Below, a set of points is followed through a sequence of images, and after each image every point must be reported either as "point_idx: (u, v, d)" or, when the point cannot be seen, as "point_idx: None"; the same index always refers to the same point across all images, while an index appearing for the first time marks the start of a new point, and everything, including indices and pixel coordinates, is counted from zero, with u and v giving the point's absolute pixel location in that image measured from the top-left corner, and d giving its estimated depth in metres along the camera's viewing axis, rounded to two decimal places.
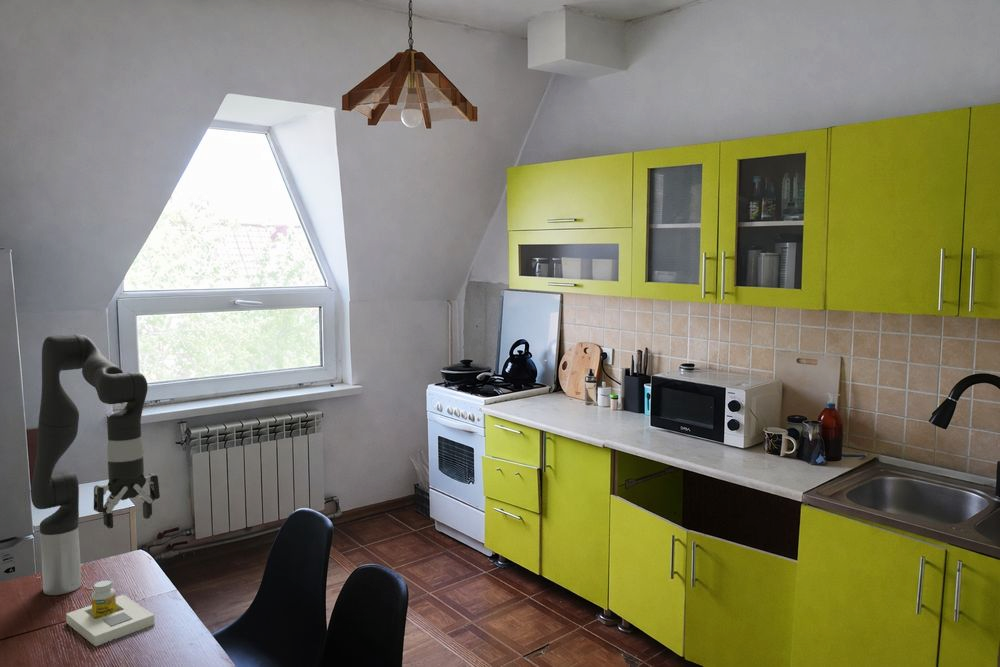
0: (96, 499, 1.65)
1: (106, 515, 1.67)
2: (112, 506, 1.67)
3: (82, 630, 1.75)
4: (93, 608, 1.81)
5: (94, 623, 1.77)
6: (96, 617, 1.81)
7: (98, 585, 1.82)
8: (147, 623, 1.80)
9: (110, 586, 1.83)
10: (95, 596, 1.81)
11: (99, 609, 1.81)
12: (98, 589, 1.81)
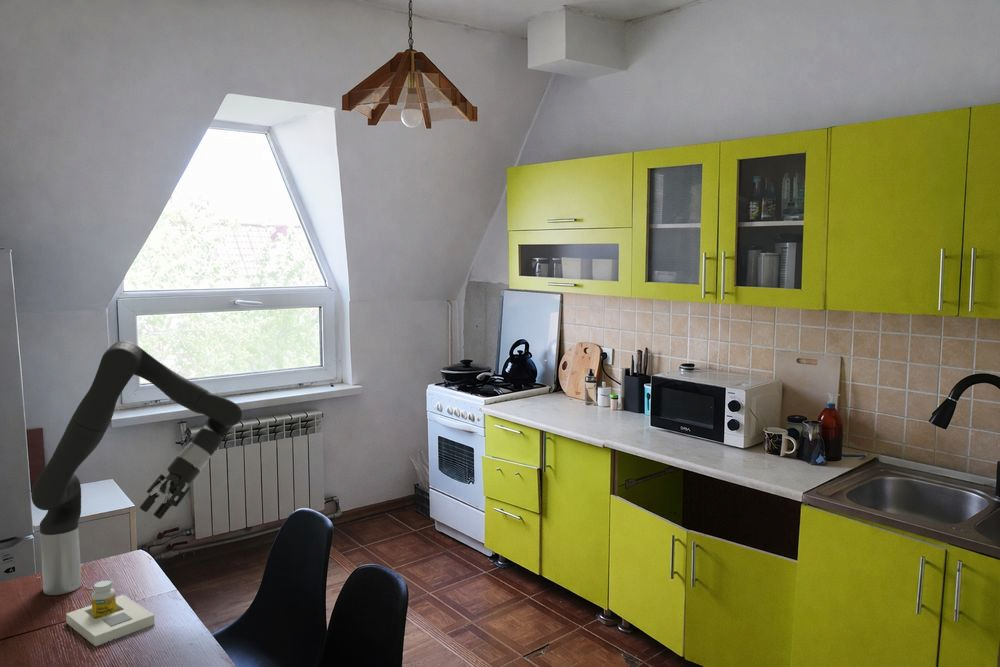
0: (181, 495, 1.91)
1: None
2: None
3: (82, 630, 1.75)
4: (93, 608, 1.81)
5: (94, 623, 1.77)
6: (96, 617, 1.81)
7: (98, 585, 1.82)
8: (147, 623, 1.80)
9: (110, 586, 1.83)
10: (95, 596, 1.81)
11: (99, 609, 1.81)
12: (98, 589, 1.81)
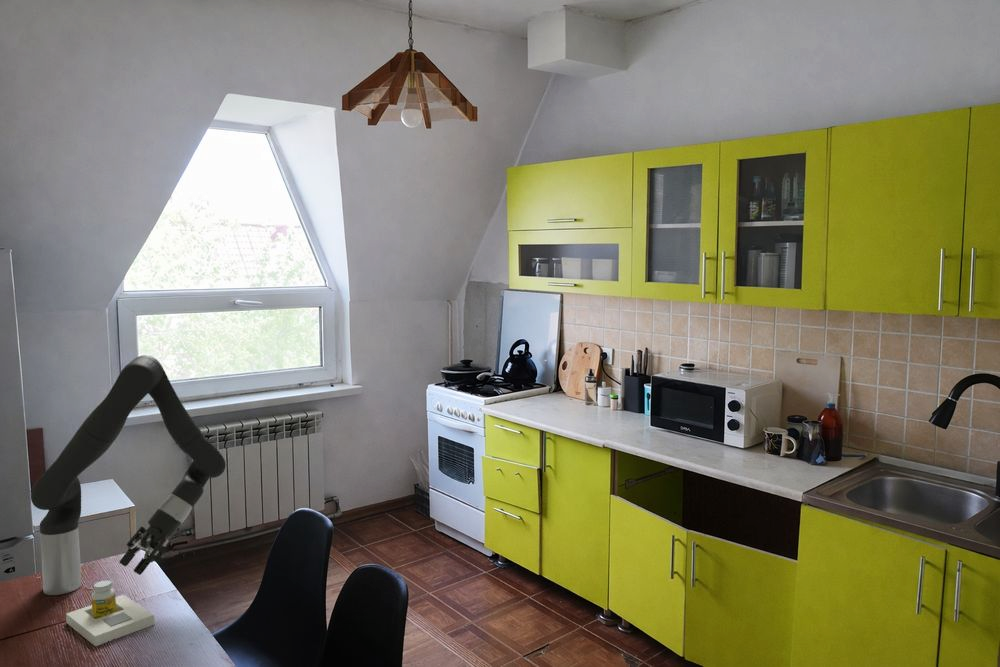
0: (162, 550, 1.88)
1: None
2: None
3: (82, 630, 1.75)
4: (93, 608, 1.81)
5: (94, 623, 1.77)
6: (96, 617, 1.81)
7: (98, 585, 1.82)
8: (147, 623, 1.80)
9: (110, 586, 1.83)
10: (95, 596, 1.81)
11: (99, 609, 1.81)
12: (98, 589, 1.81)
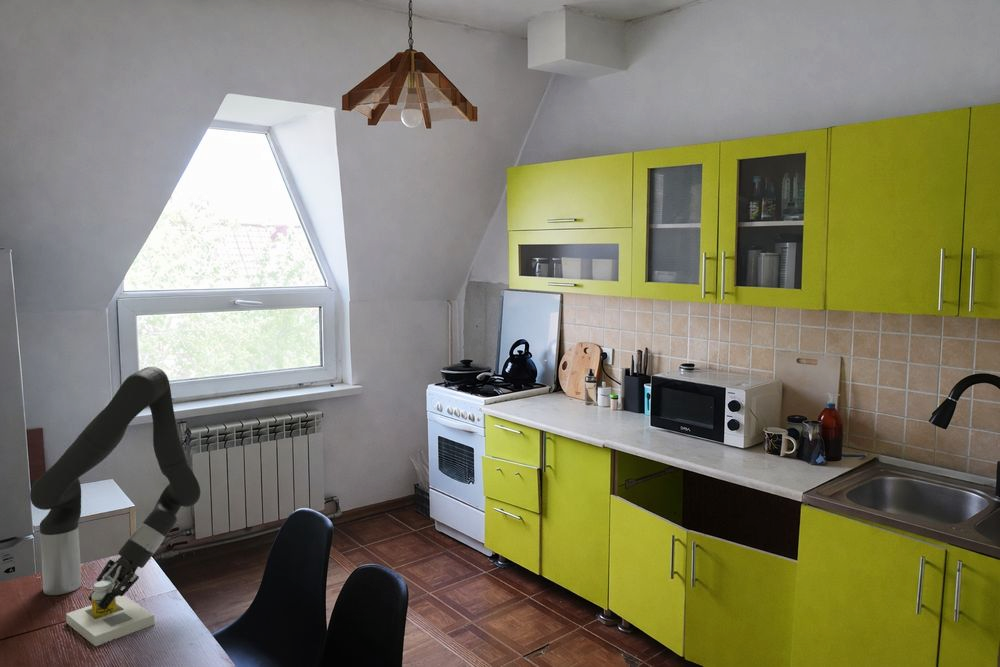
0: (128, 585, 1.82)
1: None
2: None
3: (82, 630, 1.75)
4: (93, 608, 1.81)
5: (94, 623, 1.77)
6: (96, 617, 1.81)
7: (98, 585, 1.82)
8: (147, 623, 1.80)
9: (110, 586, 1.83)
10: (95, 596, 1.81)
11: (99, 609, 1.81)
12: (98, 589, 1.81)
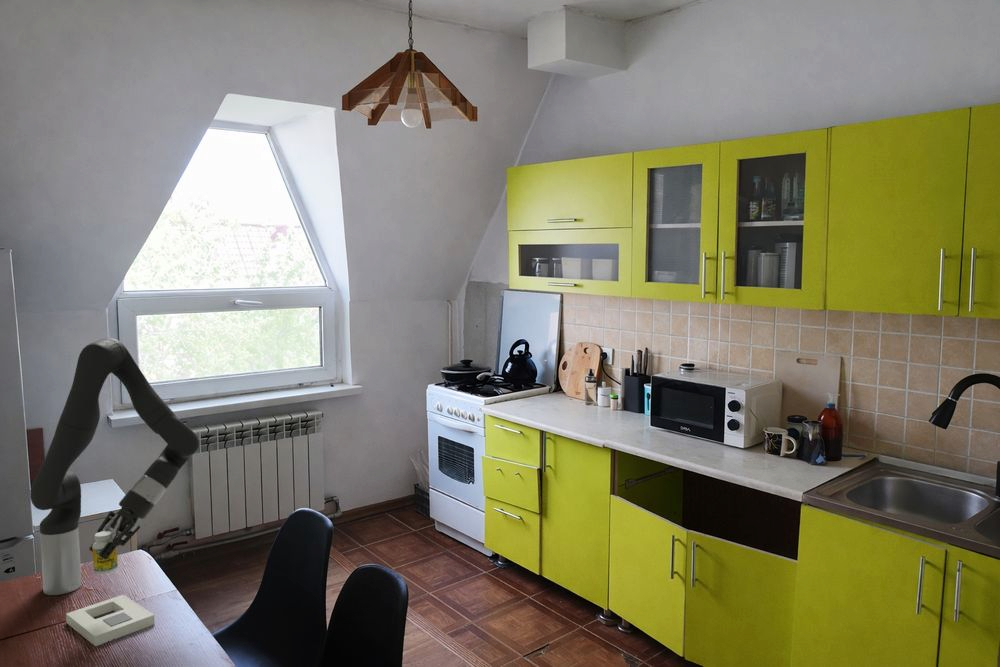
0: (129, 535, 1.80)
1: None
2: None
3: (82, 630, 1.75)
4: (94, 558, 1.80)
5: (94, 623, 1.77)
6: (97, 567, 1.80)
7: (99, 535, 1.80)
8: (147, 623, 1.80)
9: (111, 536, 1.81)
10: (96, 546, 1.79)
11: (100, 559, 1.79)
12: (99, 538, 1.79)
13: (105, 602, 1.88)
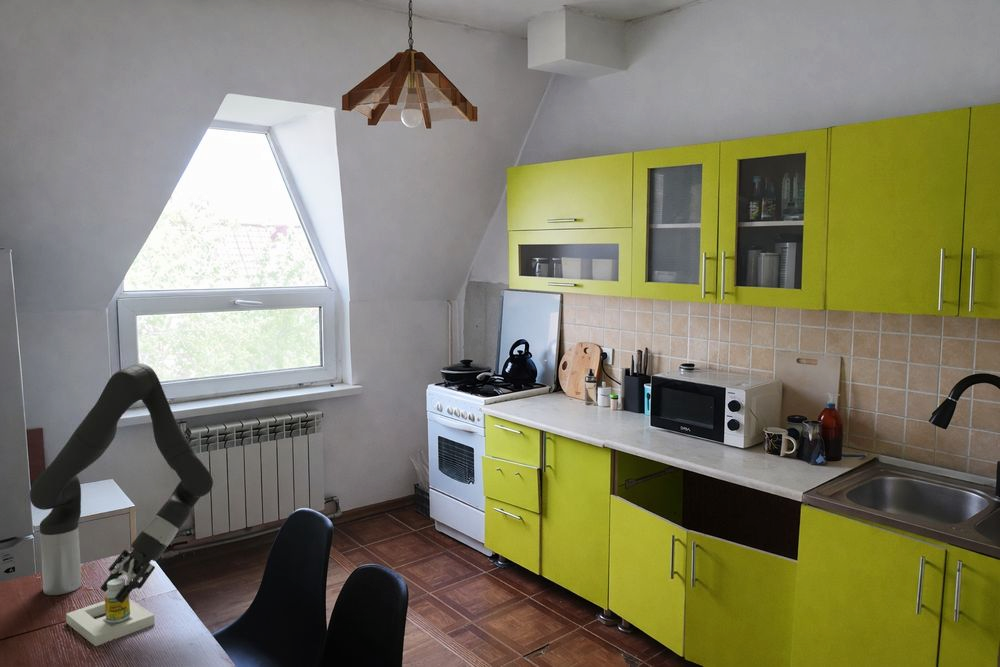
0: (145, 576, 1.77)
1: None
2: None
3: (82, 630, 1.75)
4: (106, 606, 1.76)
5: (94, 623, 1.77)
6: (109, 616, 1.76)
7: (111, 583, 1.77)
8: (147, 623, 1.80)
9: (124, 584, 1.78)
10: (108, 594, 1.76)
11: (112, 608, 1.76)
12: (112, 587, 1.76)
13: None
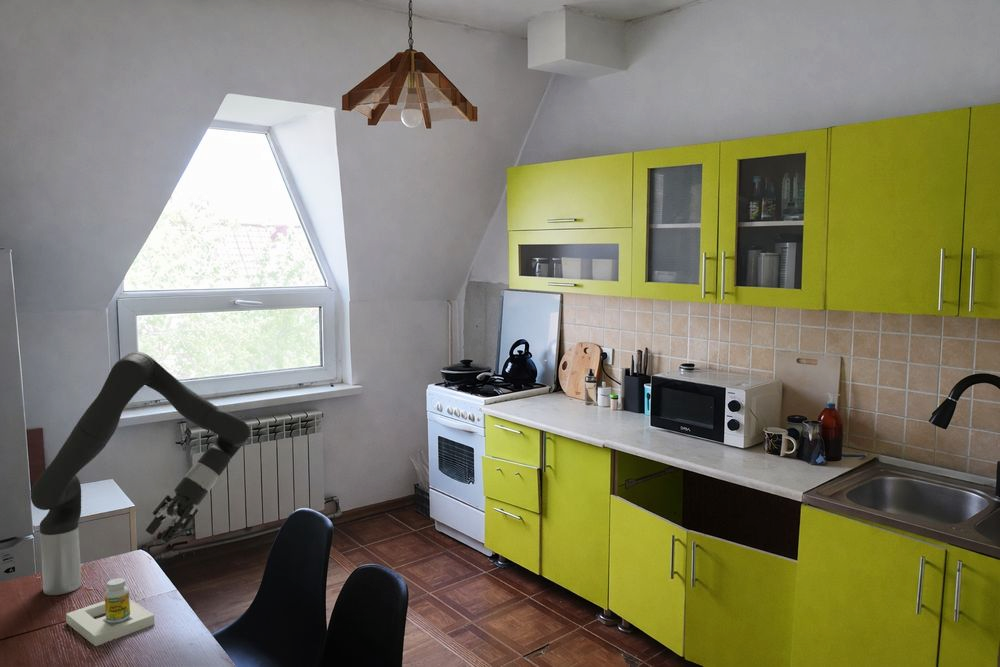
0: (189, 517, 1.84)
1: None
2: None
3: (82, 630, 1.75)
4: (106, 606, 1.76)
5: (94, 623, 1.77)
6: (109, 616, 1.76)
7: (111, 583, 1.77)
8: (147, 623, 1.80)
9: (124, 584, 1.78)
10: (108, 594, 1.76)
11: (112, 608, 1.76)
12: (112, 587, 1.76)
13: None
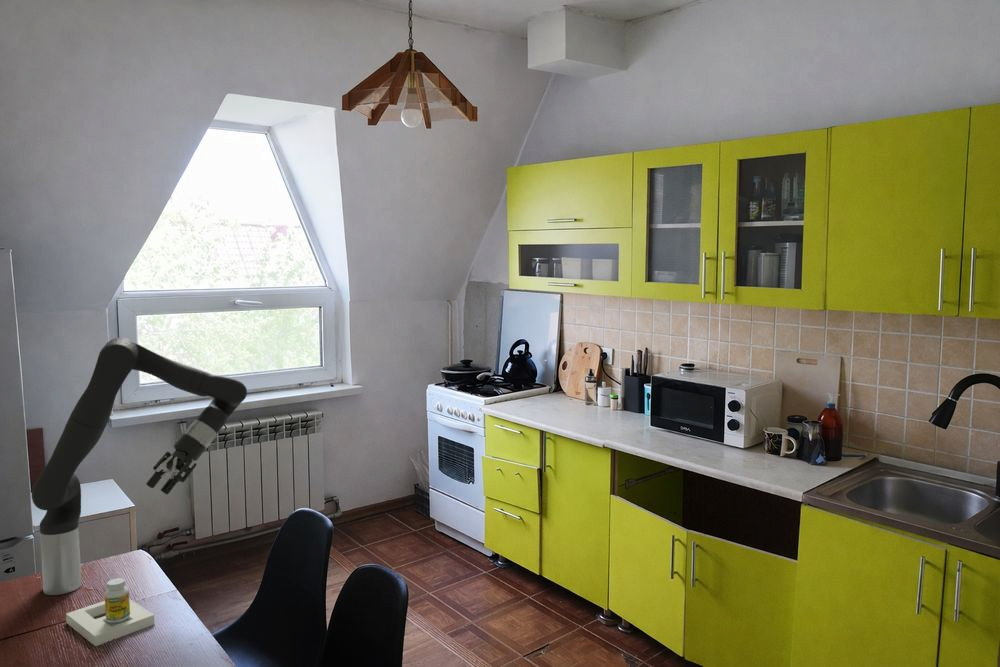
0: (188, 471, 1.92)
1: None
2: None
3: (82, 630, 1.75)
4: (106, 606, 1.76)
5: (94, 623, 1.77)
6: (109, 616, 1.76)
7: (111, 583, 1.77)
8: (147, 623, 1.80)
9: (124, 584, 1.78)
10: (108, 594, 1.76)
11: (112, 608, 1.76)
12: (112, 587, 1.76)
13: None
